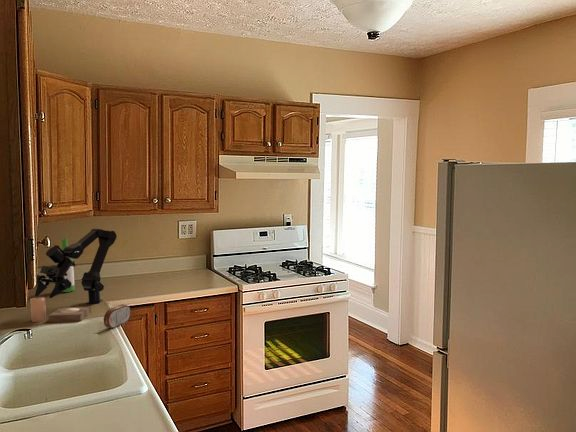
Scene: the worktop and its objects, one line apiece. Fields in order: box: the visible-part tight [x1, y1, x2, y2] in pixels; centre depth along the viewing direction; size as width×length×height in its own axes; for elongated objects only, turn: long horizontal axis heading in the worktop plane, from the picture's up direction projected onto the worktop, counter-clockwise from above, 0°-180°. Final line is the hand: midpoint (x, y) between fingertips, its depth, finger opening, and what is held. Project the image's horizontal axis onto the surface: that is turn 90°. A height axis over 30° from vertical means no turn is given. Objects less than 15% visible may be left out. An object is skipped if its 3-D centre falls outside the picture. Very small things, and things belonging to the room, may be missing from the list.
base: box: [47, 305, 92, 323], centre depth 232 cm, size 14×14×3 cm
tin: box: [103, 304, 132, 329], centre depth 219 cm, size 15×3×8 cm, turn 159°
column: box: [29, 296, 47, 323], centre depth 229 cm, size 6×6×10 cm
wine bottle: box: [61, 238, 76, 293], centre depth 284 cm, size 8×8×30 cm
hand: (42, 296), depth 231 cm, fingers open, 9 cm apart
